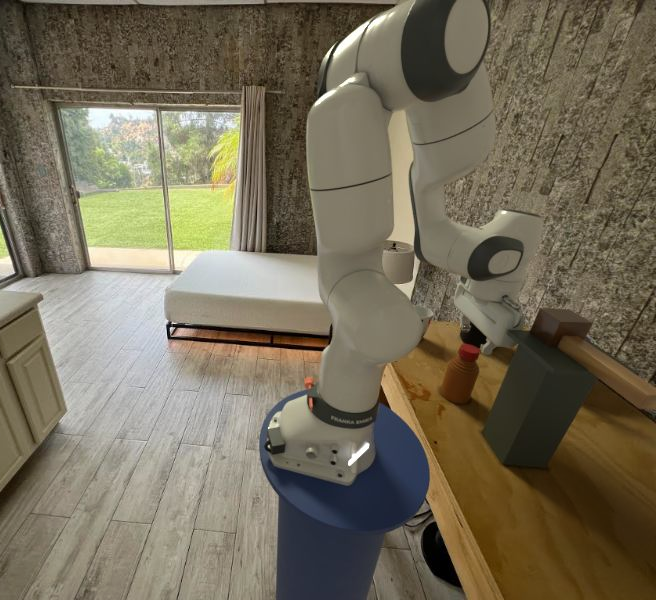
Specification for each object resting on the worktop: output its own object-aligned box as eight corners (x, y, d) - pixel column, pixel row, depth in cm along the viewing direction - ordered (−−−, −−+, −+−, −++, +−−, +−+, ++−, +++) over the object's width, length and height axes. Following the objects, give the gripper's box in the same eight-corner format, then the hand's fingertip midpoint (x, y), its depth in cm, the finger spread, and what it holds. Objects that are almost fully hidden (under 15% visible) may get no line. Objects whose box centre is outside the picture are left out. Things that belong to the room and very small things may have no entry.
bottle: (446, 403, 78) (461, 357, 73) (436, 385, 84) (449, 342, 78) (474, 404, 78) (491, 359, 72) (461, 387, 84) (476, 343, 78)
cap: (472, 351, 77) (474, 344, 76) (480, 361, 74) (483, 353, 73) (454, 350, 78) (457, 343, 77) (462, 360, 74) (465, 352, 73)
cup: (412, 346, 101) (419, 319, 96) (394, 334, 108) (399, 308, 103) (431, 341, 103) (439, 314, 99) (412, 329, 110) (418, 303, 106)
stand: (500, 477, 61) (554, 369, 49) (469, 428, 71) (507, 329, 60) (568, 483, 60) (639, 373, 48) (526, 432, 70) (576, 332, 59)
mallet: (628, 408, 42) (647, 378, 40) (529, 331, 59) (539, 308, 57) (670, 411, 41) (692, 381, 39) (558, 332, 59) (569, 309, 57)
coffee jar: (499, 355, 96) (520, 302, 88) (458, 345, 101) (474, 294, 93) (496, 338, 104) (514, 288, 96) (458, 330, 109) (473, 282, 101)
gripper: (543, 310, 58) (516, 370, 64) (483, 271, 77) (466, 321, 83) (507, 307, 59) (483, 367, 65) (456, 270, 77) (441, 319, 83)
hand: (473, 341), depth 74 cm, fingers open, 8 cm apart
